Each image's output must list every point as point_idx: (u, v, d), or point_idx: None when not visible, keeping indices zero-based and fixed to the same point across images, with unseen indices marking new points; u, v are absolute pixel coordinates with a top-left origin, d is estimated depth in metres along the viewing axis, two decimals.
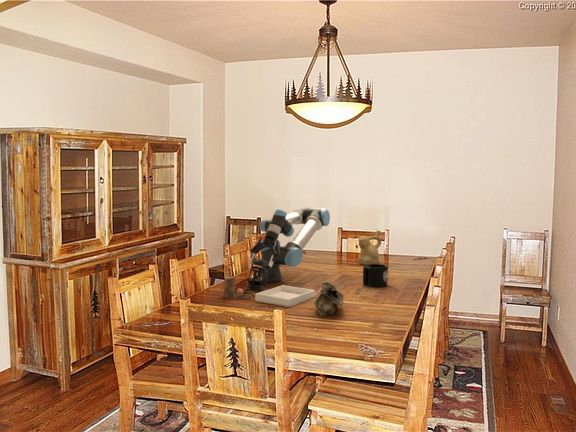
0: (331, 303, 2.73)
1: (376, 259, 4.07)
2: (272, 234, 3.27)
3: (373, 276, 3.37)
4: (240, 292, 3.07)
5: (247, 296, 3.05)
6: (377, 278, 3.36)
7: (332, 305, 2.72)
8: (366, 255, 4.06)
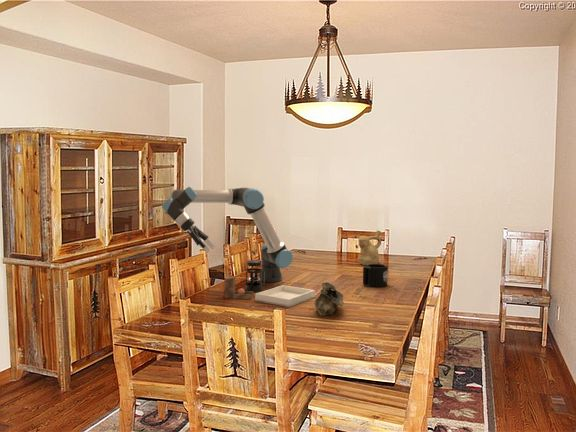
0: (331, 303, 2.73)
1: (376, 259, 4.07)
2: (182, 228, 3.06)
3: (373, 276, 3.37)
4: (241, 293, 3.07)
5: (247, 296, 3.05)
6: (377, 278, 3.36)
7: (332, 305, 2.72)
8: (366, 255, 4.06)
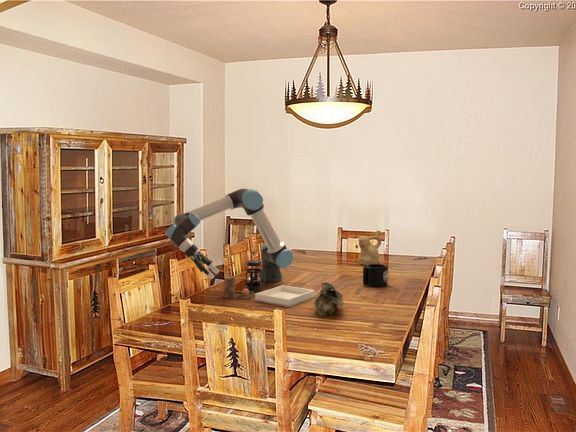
0: (331, 303, 2.73)
1: (376, 259, 4.07)
2: (186, 255, 3.06)
3: (372, 276, 3.37)
4: None
5: (247, 296, 3.05)
6: (377, 278, 3.36)
7: (332, 305, 2.72)
8: (366, 255, 4.06)
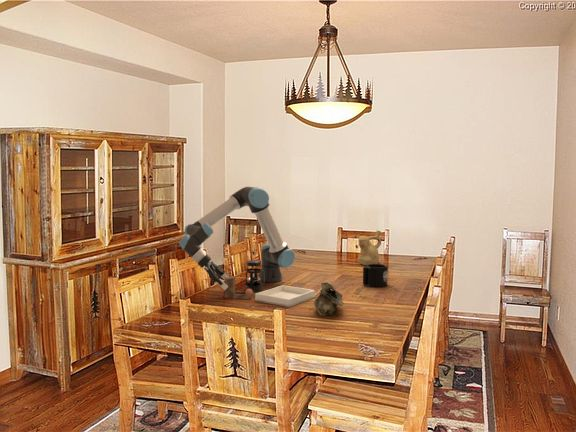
0: (331, 303, 2.73)
1: (376, 259, 4.07)
2: (199, 265, 3.06)
3: (373, 276, 3.37)
4: (247, 293, 3.07)
5: (247, 296, 3.05)
6: (377, 278, 3.36)
7: (332, 305, 2.72)
8: (366, 255, 4.06)
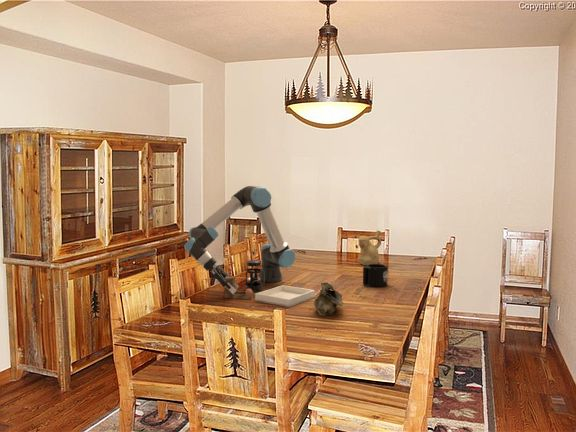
0: (331, 303, 2.73)
1: (376, 259, 4.07)
2: (205, 268, 3.07)
3: (373, 276, 3.37)
4: (247, 293, 3.07)
5: (247, 296, 3.05)
6: (377, 278, 3.36)
7: (332, 305, 2.72)
8: (366, 255, 4.06)
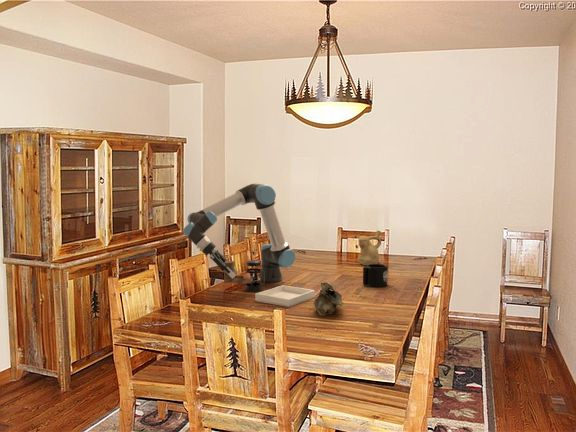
0: (331, 303, 2.73)
1: (376, 259, 4.07)
2: (204, 253, 3.06)
3: (373, 276, 3.37)
4: None
5: (246, 280, 3.04)
6: (377, 278, 3.36)
7: (332, 305, 2.72)
8: (366, 255, 4.06)
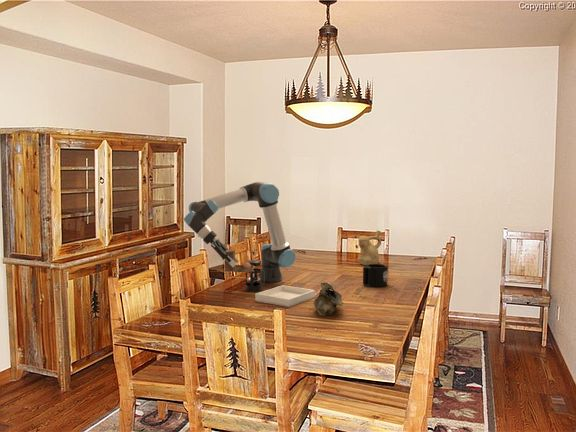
0: (331, 303, 2.73)
1: (376, 259, 4.07)
2: (205, 241, 3.05)
3: (373, 276, 3.37)
4: None
5: (247, 269, 3.04)
6: (377, 278, 3.36)
7: (332, 305, 2.72)
8: (366, 255, 4.06)
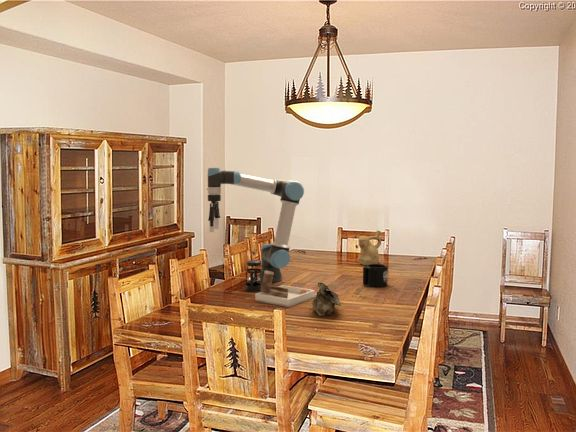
0: (330, 303, 2.73)
1: (376, 259, 4.07)
2: (208, 197, 3.22)
3: (373, 276, 3.37)
4: None
5: (284, 294, 3.03)
6: (377, 278, 3.36)
7: (331, 305, 2.73)
8: (366, 255, 4.06)
